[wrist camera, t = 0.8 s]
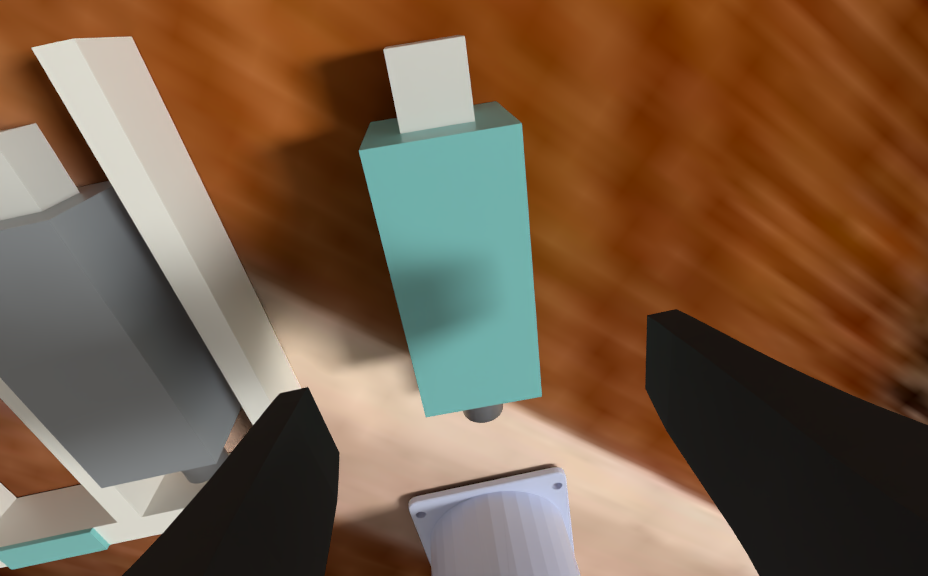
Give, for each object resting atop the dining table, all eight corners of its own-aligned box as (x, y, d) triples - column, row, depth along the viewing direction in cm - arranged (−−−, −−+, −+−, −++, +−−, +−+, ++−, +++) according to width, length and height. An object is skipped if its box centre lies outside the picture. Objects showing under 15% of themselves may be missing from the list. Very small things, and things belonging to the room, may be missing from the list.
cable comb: (334, 450, 21) (324, 503, 19) (10, 519, 21) (-39, 580, 19) (135, 36, 13) (72, 37, 10) (-406, 150, 13) (-591, 178, 10)
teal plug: (521, 366, 20) (544, 437, 17) (431, 382, 20) (435, 456, 17) (487, 28, 14) (514, 29, 10) (354, 50, 14) (335, 58, 10)
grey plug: (270, 418, 20) (241, 499, 17) (180, 437, 20) (133, 522, 17) (97, 108, 14) (-9, 136, 10) (-35, 137, 14) (-186, 174, 10)
